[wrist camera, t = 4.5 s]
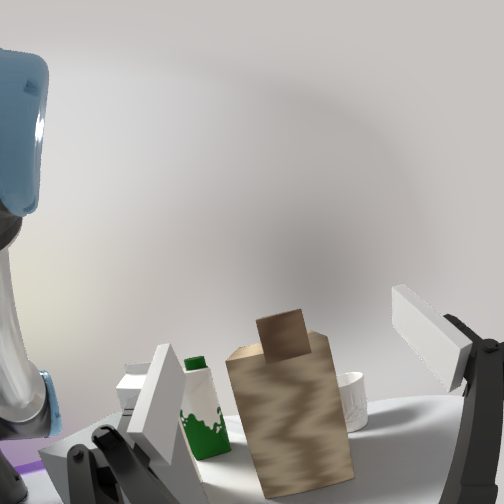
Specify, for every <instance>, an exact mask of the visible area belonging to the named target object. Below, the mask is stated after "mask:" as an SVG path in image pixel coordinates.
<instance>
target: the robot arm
mask: <svg viewBox="0 0 504 504" xmlns="http://www.w3.org/2000/svg"><path fill="white" fill-rule="evenodd" d="M48 85H49V71H48V67H47V64H46V62H45V61H44V60H43V59H42V58H41V57H40V56H38V55H35V54H31V53H25V52H18V51H11V50H3V49H2V48H0V441H2V440H18V439H32V438H42V437H44V438H49V437H50V436H55V435H58V434H60V433H61V431H62V421H61V416H60V413H59V406H58V402H57V398H56V394H55V390H54V386H53V383H52V379H51V377H50V375H49V373H48V372H47V371H45V370H40V369H37V367H36V366H35V365H34V364H33V363H32V362H31V361H29V360H28V358H27V355H26V351H25V347H24V343H23V340H22V336H21V331H20V327H19V322H18V318H17V313H16V307H15V302H14V296H13V290H12V282H11V274H10V265H9V254H8V247H10V245H11V244H12V243H13V242H14V241H15V239H16V238H17V236H18V234H19V232H20V230H21V226H22V217H24V216H26V215H27V214H31V213H32V212H34V211H35V210H36V208H37V206H38V200H39V186H40V165H41V152H42V141H43V130H44V121H45V111H46V102H47V94H48ZM392 326H393V327H394V328H395V329H396V331H397V332H398V333H399V334H400V335H401V336H402V337H403V338H404V340H405V341H406V342H407V343H408V344H409V345H410V346H411V348H412V349H413V350H414V351H415V352H416V354H417V355H418V356H419V357H420V358H421V359H422V361H423V362H424V363H425V364H426V365H427V366H428V368H429V369H430V370H431V371H432V373H433V374H434V375H435V376H436V377H437V379H438V380H439V381H440V382H441V384H442V385H443V386H444V387H445V388H446V390H447V391H448V392H451V391H452V390H454V389H456V388H458V387H459V386H461V383H462V380H463V377H464V378H465V379H466V381H467V384H466V387H465V390H464V393H463V395H462V396H463V397H464V396H465V397H464V405H463V412H462V418H461V424H460V429H459V434H458V439H457V444H456V448H455V452H454V456H453V460H452V464H451V467H450V471H449V474H448V478H447V481H446V484H445V487H444V490H443V493H442V496H441V499H440V501H439V504H495V502H496V498H497V493H498V486H497V485H496V484H495V477H496V472H497V466H498V460H499V453H500V445H501V436H502V424H503V400H504V342H502V343H498V342H497V341H495V340H494V339H484V340H483V339H482V338H480V337H479V336H478V335H477V334H475V333H474V332H473V331H472V330H471V329H470V328H469V327H466V325H465V324H464V323H462V322H461V321H460V320H459V319H458V318H457V317H455V316H452V315H450V314H446V315H444V316H442V315H441V314H440V313H438V312H437V311H436V310H435V309H434V308H433V307H431V306H430V305H429V304H428V303H426V302H425V301H424V300H423V299H422V298H420V297H419V296H418V295H417V294H415V293H414V292H413V291H411V290H410V289H409V288H408V287H407V286H405V285H404V284H403V283H402V284H400V285H396V286H393V287H392ZM186 378H187V377H186V375H185V373H184V371H183V369H182V367H181V365H180V363H179V361H178V359H177V357H176V355H175V353H174V351H173V348H172V346H171V344H170V343H167V344H161V345H158V347H157V349H156V352H155V354H154V357H153V360H152V362H151V365H150V367H149V370H148V373H147V375H146V378H145V381H144V383H143V386H142V389H141V392H140V394H135V395H132V396H131V398H130V399H129V400H128V401H127V403H126V406H125V408H124V409H125V410H124V411H123V414H122V416H121V419H120V422H119V424H118V427H117V430H116V429H115V428H114V427H113V426H112V425H109V424H105V425H101V426H99V427H98V428H96V429H95V430H94V432H93V433H92V436H91V440H92V442H93V443H94V444H95V445H96V446H97V447H98V448H95V449H90V450H89V449H88V448H87V447H86V446H85V445H84V444H76V445H74V446H72V447H71V448H70V449H69V451H68V452H67V472H68V485H69V495H70V504H125V503H124V500H123V496H122V492H121V489H122V490H123V492H124V494H125V495H126V497H127V498H128V500H129V502H130V503H131V504H180V503H179V502H178V500H177V499H176V498H175V497H174V496H173V495H172V493H171V492H170V491H169V490H168V489H167V487H166V486H165V485H164V484H163V482H162V481H161V480H160V479H159V477H158V476H157V475H156V473H155V472H154V471H153V469H152V468H151V467H150V466H149V463H150V459H151V461H152V462H153V463H154V464H155V465H169V466H171V461H172V454H173V449H174V443H175V437H176V431H177V426H178V420H179V415H180V409H181V404H182V399H183V394H184V389H185V383H186ZM120 487H121V489H120ZM26 493H27V487H26V485H25V483H24V481H23V480H22V478H21V476H20V475H19V473H18V472H17V471H16V470H15V469H14V467H13V466H12V465H11V464H10V462H9V461H8V460H7V458H6V457H5V456H4V454H3V453H2V451H1V449H0V504H16V503H18V502H19V501H21V500H22V499H23V498H24V497H25V495H26Z"/></svg>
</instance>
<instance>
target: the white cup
mask: <svg viewBox="0 0 504 504" xmlns="http://www.w3.org/2000/svg"><path fill="white" fill-rule="evenodd" d="M336 378H337V382H338V387H339V392H340V397H341V402H342V407H343V412H344V417H345V423H346V428H347V433H349V432H354V431H356V430H359V429H361V428H362V427H364V426H365V425H366V424H367V422H368V414H367V402H366V392H365V384H364V377H363V374H362V373H360V372H351V373H345V374H341V375H338V376H336Z"/></svg>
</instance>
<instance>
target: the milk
mask: <svg viewBox="0 0 504 504" xmlns="http://www.w3.org/2000/svg"><path fill="white" fill-rule="evenodd" d="M150 365H151V363H150V362H147V363H134V364H125V370H126V375H125V376H124V378H123V379H122V380H121V382H120V383H119V384H118V386H117V387H116V391H117V394H118V398H119V401H120V405H121V408H122V411H124V410H125V409H124V408H125V406H126V403H127V401H128V400H129V399H130V398H131V396H132V395H135V394H140V392H141V389H142V386H143V383H144V381H145V378H146V375H147V373H148V370H149V367H150ZM178 421H179V424H180V427H181V430H182V433H183V436H184V439H185V442H186V445H187V448H188V451H189V454H190V456H191V459H192V462H193V464H194V467H195V470H196V472H197V475H198V477H199V480H200V482H201V483H202V482H203V480H202V478H201V475H200V473H199V470H198V467H197V465H196V462H195V459H194V457H193V454H192V451H191V448H190V445H189V443H188V440H187V437H186V434H185V431H184V428H183V425H182V421H181V418H180V415H179V420H178Z"/></svg>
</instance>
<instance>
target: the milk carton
mask: <svg viewBox="0 0 504 504" xmlns="http://www.w3.org/2000/svg"><path fill="white" fill-rule="evenodd" d="M184 362H185V367H186V368H185V369H183V371H184V373H185V375H186V377H187V378H186V383H185V389H184V394H183V399H182V404H181V409H180V418H181V421H182V425H183V428H184V431H185V434H186V437H187V440H188V443H189V445H190V448H191V451H192V454H193V455H194V457H195V458H196V460H200V459H204V458H208V457H212V456H215V455H219V454H222V453H225V452H229V451H231V448H230V443H229V439H228V434H227V430H226V426H225V422H224V419H223V415H222V412H221V409H220V405H219V401H218V398H217V394H216V391H215V387H214V383H213V379H212V375H211V371H210V368H208V366H206V363H205V359H204V356H199V357H193V358H189V359H185V360H184Z"/></svg>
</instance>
